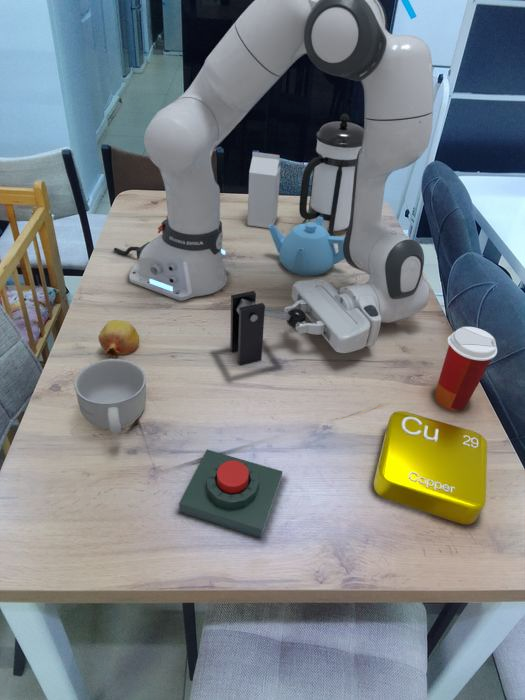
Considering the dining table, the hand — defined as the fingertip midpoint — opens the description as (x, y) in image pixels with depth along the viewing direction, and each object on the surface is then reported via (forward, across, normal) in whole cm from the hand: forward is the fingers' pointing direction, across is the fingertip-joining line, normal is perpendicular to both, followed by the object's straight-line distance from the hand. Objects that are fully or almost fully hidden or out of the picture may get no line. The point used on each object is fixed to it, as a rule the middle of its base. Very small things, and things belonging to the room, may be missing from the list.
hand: (291, 320), depth 95 cm
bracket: (+9, 0, +7) cm, 12 cm away
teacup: (+35, +7, +8) cm, 36 cm away
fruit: (+30, -11, +8) cm, 33 cm away
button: (+22, +27, +4) cm, 35 cm away
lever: (+5, 0, -1) cm, 5 cm away
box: (+22, +27, +8) cm, 36 cm away
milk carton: (-18, -54, +7) cm, 57 cm away
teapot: (-19, -29, +7) cm, 35 cm away
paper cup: (-22, +23, +7) cm, 32 cm away
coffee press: (-33, -44, +7) cm, 56 cm away
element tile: (-8, +34, +7) cm, 36 cm away
